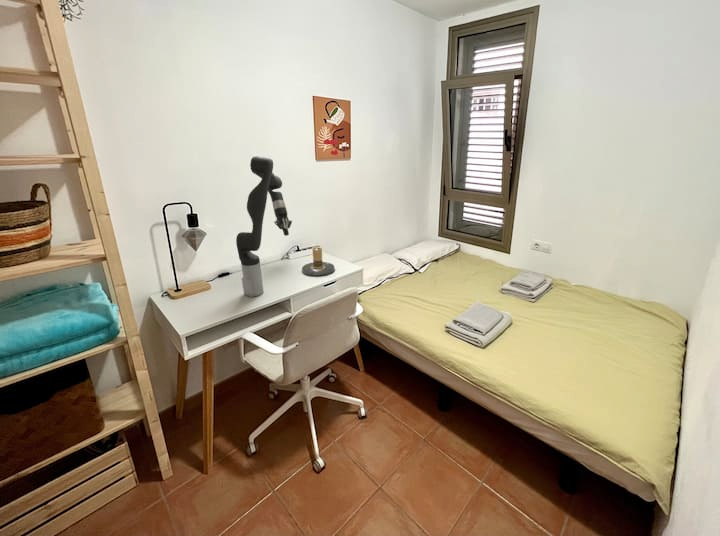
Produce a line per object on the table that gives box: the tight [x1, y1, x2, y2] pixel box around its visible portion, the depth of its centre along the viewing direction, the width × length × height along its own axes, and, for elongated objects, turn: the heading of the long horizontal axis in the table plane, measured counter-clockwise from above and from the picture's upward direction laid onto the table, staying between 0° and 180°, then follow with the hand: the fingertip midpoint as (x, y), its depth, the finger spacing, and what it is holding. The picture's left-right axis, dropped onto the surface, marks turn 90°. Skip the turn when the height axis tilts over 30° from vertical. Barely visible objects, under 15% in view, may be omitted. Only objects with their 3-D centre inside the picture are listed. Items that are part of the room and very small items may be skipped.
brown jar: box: [312, 247, 324, 269], centre depth 205 cm, size 7×7×12 cm
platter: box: [301, 261, 335, 277], centre depth 207 cm, size 20×20×2 cm
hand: (286, 235), depth 206 cm, fingers closed
